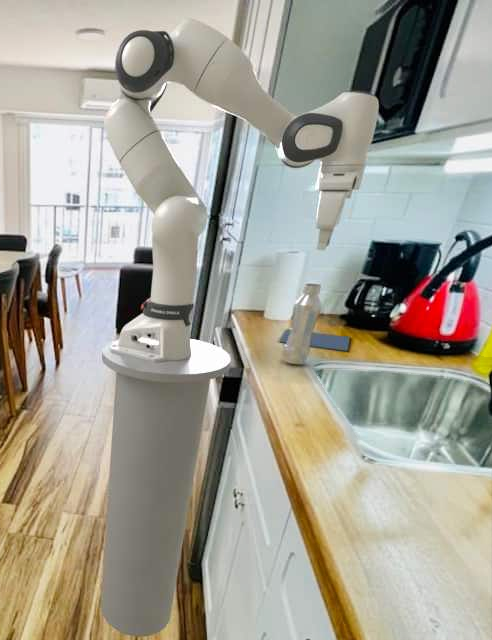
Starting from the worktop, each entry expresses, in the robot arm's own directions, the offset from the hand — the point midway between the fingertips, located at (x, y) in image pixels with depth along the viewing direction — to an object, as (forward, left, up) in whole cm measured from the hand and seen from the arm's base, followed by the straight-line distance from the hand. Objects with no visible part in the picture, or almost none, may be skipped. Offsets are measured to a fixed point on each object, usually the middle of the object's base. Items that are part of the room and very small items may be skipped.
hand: (322, 248), depth 113 cm
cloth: (+3, +27, -28) cm, 40 cm away
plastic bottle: (0, 0, -29) cm, 29 cm away
